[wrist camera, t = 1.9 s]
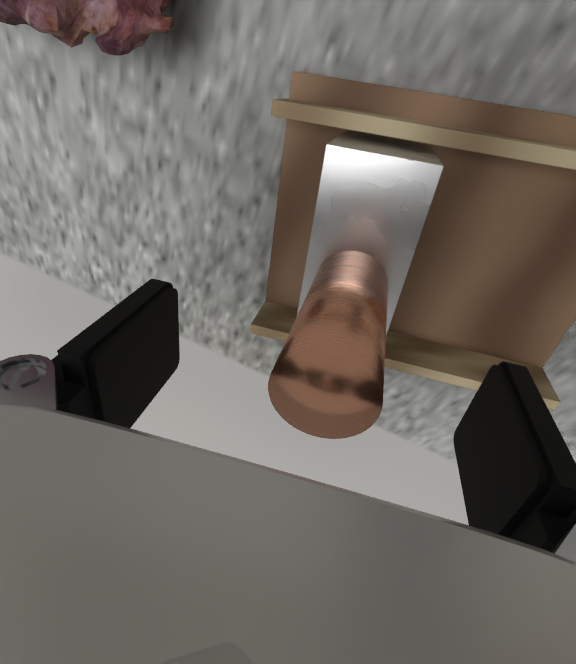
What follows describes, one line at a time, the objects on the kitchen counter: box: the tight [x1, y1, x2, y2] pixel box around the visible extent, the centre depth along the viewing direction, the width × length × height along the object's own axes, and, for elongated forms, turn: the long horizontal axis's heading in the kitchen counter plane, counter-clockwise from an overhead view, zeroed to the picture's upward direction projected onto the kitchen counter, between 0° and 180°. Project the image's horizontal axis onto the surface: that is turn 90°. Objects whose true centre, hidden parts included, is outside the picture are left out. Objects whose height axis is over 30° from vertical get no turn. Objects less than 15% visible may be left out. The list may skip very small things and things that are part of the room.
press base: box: [250, 71, 576, 410], centre depth 20 cm, size 17×14×4 cm
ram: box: [268, 131, 443, 439], centre depth 15 cm, size 4×10×13 cm, turn 172°
